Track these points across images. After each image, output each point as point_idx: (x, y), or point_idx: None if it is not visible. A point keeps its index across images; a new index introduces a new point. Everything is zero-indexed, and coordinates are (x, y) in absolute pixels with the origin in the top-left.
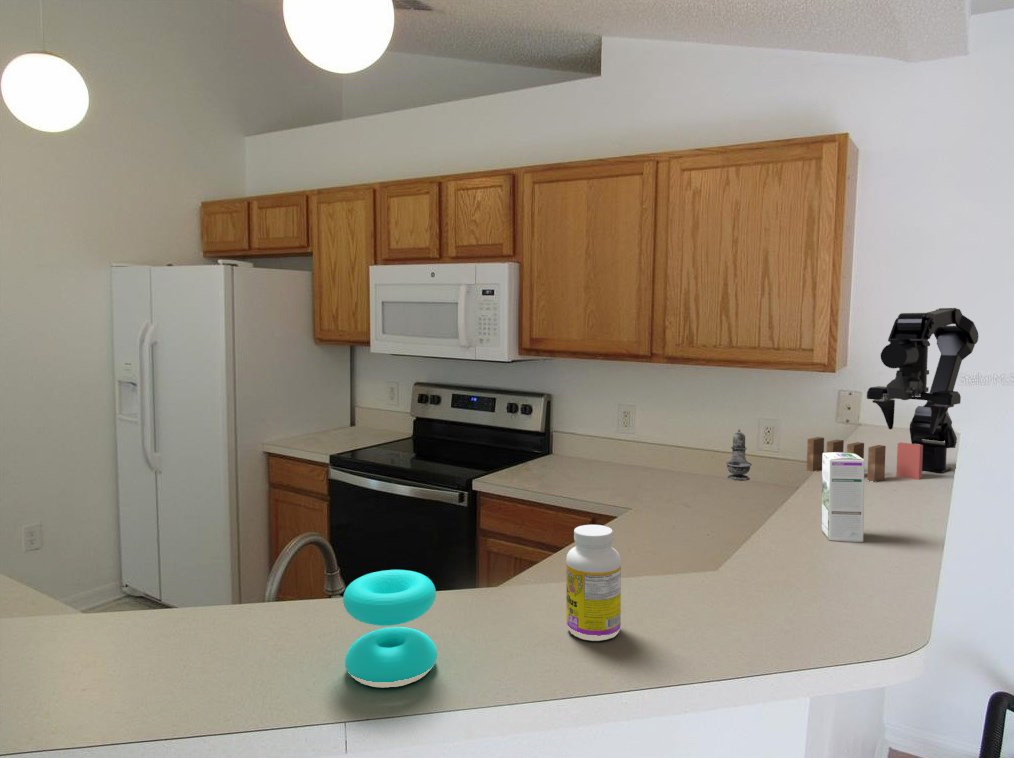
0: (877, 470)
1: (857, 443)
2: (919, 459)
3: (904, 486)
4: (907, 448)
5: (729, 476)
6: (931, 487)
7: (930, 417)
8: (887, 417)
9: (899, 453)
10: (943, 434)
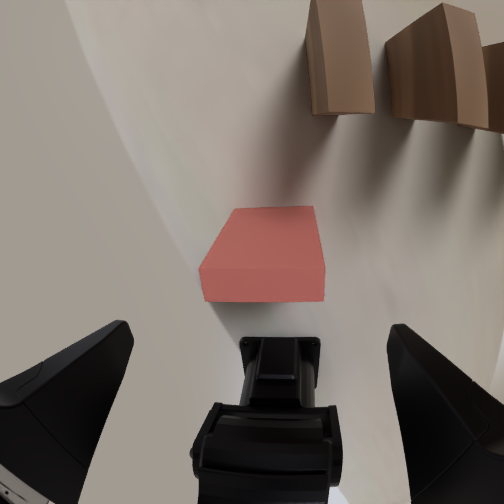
0: (309, 48)
1: (468, 77)
2: (217, 238)
3: (204, 64)
4: (268, 257)
5: None
6: (149, 128)
7: (248, 495)
8: (443, 377)
9: (309, 241)
10: (209, 434)
